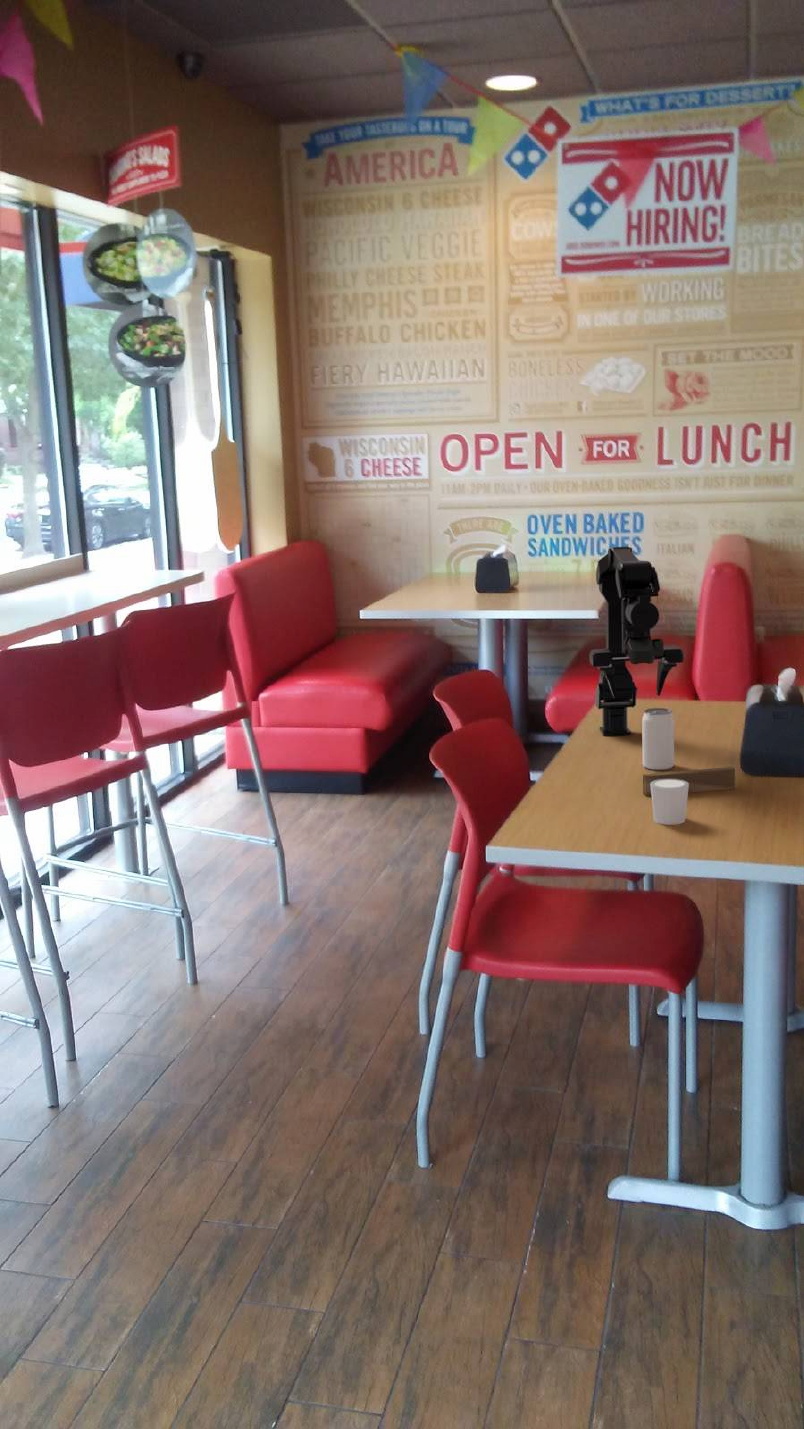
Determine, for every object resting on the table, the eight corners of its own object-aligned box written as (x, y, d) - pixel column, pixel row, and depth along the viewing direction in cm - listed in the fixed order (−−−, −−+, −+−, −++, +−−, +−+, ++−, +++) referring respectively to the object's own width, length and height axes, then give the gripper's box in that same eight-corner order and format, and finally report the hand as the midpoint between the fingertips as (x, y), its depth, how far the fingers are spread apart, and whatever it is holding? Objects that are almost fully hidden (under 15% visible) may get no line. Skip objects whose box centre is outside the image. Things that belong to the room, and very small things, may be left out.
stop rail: (643, 793, 252) (643, 774, 251) (731, 786, 254) (731, 766, 253) (645, 796, 251) (645, 776, 250) (734, 788, 253) (735, 769, 252)
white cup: (651, 825, 233) (651, 788, 231) (649, 814, 239) (649, 778, 238) (690, 825, 232) (690, 788, 230) (687, 814, 238) (687, 777, 237)
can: (672, 762, 274) (672, 707, 271) (675, 770, 267) (675, 714, 265) (641, 762, 274) (641, 707, 272) (643, 771, 268) (643, 714, 265)
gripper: (596, 631, 259) (597, 706, 262) (689, 626, 259) (689, 702, 262) (588, 622, 270) (589, 695, 273) (677, 618, 270) (677, 691, 273)
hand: (636, 696), depth 270 cm, fingers open, 9 cm apart
